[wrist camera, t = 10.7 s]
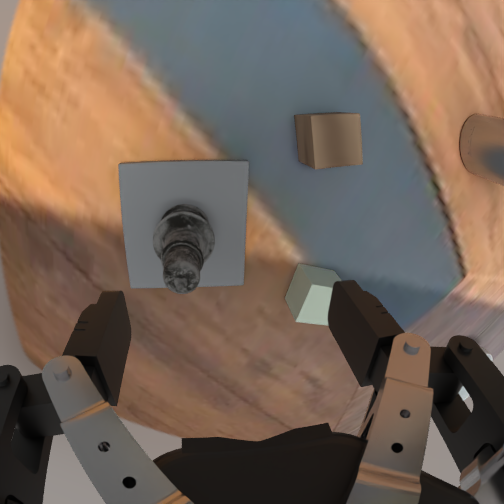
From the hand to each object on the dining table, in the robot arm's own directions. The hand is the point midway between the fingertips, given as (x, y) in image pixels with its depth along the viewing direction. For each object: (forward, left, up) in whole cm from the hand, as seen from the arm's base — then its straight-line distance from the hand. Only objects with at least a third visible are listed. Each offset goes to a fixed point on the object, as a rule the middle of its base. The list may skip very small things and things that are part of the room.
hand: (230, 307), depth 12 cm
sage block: (-13, +13, -22) cm, 29 cm away
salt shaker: (+2, +5, -21) cm, 22 cm away
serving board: (+2, +5, -22) cm, 23 cm away
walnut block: (-12, -5, -22) cm, 26 cm away
